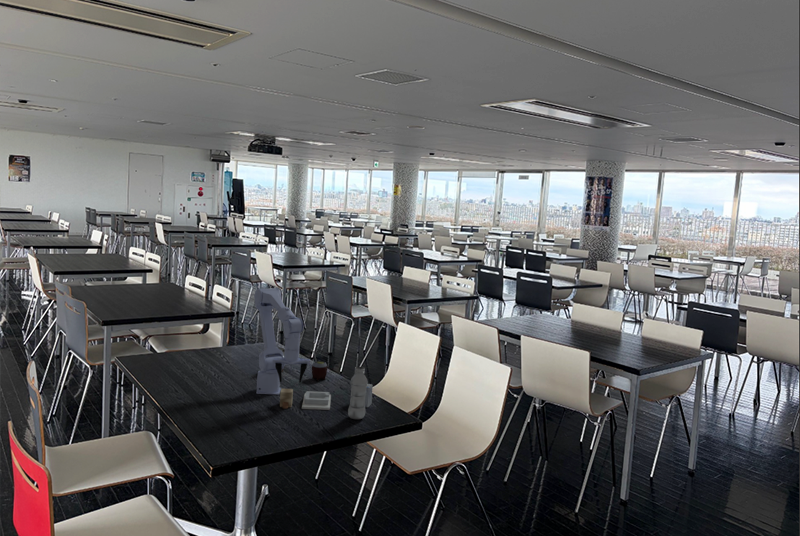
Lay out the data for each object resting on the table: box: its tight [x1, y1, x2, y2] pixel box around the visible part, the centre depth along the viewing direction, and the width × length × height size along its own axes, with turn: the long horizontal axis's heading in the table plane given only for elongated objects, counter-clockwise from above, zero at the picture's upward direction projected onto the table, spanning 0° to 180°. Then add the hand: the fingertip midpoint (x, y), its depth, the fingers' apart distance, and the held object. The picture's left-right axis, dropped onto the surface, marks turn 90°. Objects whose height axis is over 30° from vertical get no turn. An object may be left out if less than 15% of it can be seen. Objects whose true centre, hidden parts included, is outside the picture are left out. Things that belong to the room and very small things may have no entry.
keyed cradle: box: [301, 390, 332, 411], centre depth 243 cm, size 11×15×3 cm
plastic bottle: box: [347, 366, 369, 420], centre depth 228 cm, size 6×7×20 cm
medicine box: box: [365, 383, 374, 408], centre depth 244 cm, size 8×4×9 cm, turn 71°
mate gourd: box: [310, 348, 328, 382], centre depth 271 cm, size 8×8×15 cm
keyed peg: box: [279, 388, 294, 409], centre depth 237 cm, size 4×6×6 cm
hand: (290, 381), depth 238 cm, fingers open, 7 cm apart
